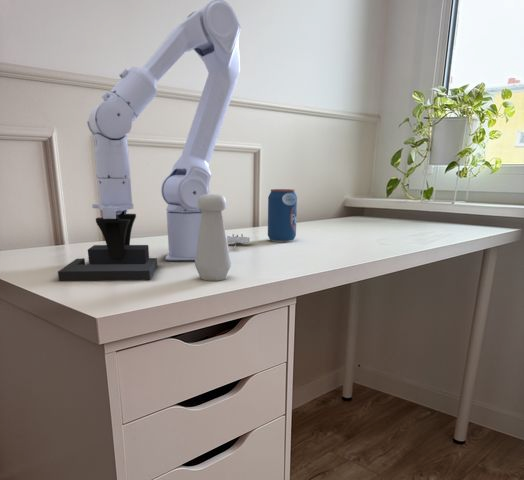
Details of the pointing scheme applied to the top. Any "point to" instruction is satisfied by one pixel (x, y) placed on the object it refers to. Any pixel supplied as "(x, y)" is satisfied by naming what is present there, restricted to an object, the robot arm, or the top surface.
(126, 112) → the robot arm
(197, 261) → the salt shaker
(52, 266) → the top surface
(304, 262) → the top surface
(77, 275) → the black pad
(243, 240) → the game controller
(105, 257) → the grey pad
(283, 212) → the soda can
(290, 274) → the top surface
